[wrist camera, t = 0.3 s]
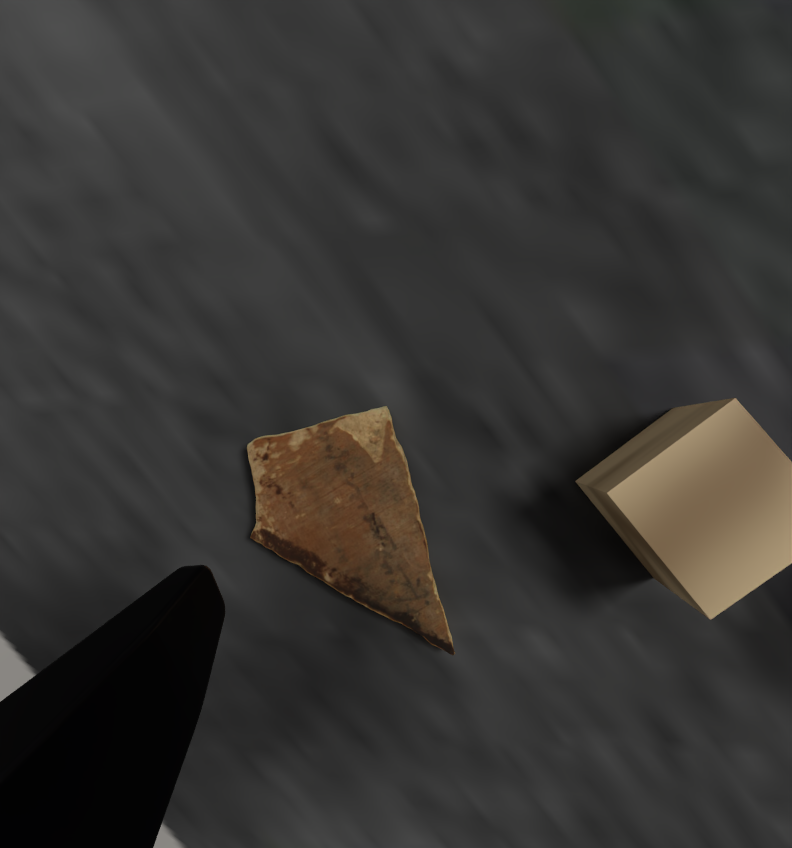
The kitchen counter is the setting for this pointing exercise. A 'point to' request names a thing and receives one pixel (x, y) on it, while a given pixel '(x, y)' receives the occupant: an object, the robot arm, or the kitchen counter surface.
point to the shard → (350, 516)
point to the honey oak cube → (700, 502)
